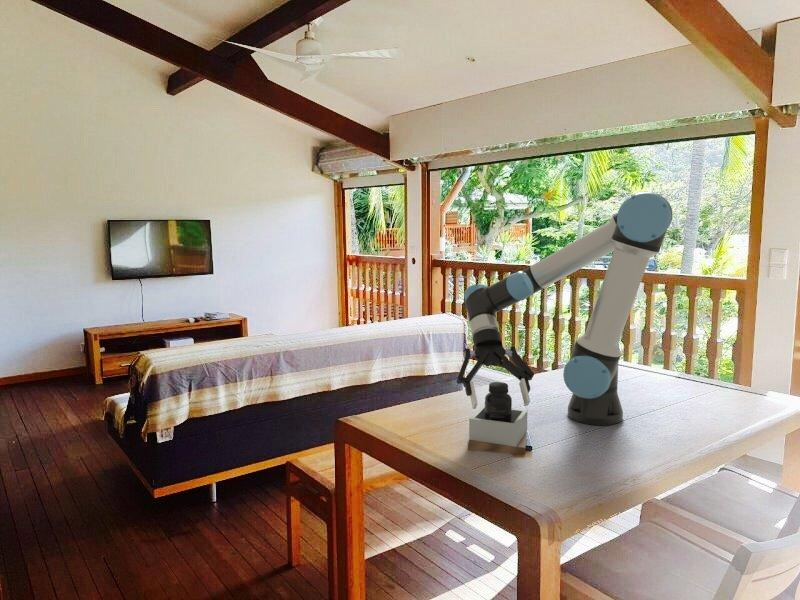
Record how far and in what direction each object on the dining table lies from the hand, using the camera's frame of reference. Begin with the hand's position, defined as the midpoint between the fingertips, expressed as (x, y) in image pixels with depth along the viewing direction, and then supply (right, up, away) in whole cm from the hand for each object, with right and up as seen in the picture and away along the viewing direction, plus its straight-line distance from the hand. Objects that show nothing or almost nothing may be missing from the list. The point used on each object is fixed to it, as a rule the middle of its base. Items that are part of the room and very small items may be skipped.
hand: (501, 405), depth 150 cm
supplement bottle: (0, -7, +3) cm, 8 cm away
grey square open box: (0, -8, +3) cm, 9 cm away
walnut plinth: (0, -11, +4) cm, 11 cm away
